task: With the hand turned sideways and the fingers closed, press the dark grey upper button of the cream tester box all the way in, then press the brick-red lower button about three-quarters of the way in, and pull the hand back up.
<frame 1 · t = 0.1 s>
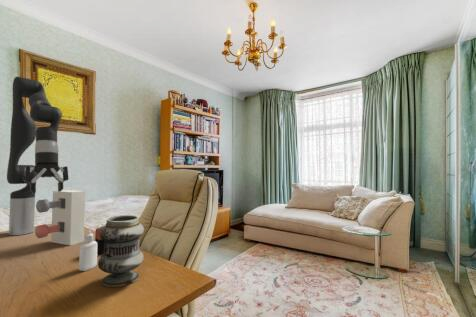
hand: (47, 192, 99), 22 cm above the table, tool pointing down, fingers open, 8 cm apart
apothecary jar: (121, 280, 72), on the table
tester box: (60, 243, 104), on the table
lower red button: (48, 229, 100), point 7 cm above the table, slide at 0.0 cm
upper grey button: (49, 205, 100), point 17 cm above the table, slide at 0.0 cm
eye dropper bottle: (88, 268, 80), on the table
battery: (106, 252, 95), on the table
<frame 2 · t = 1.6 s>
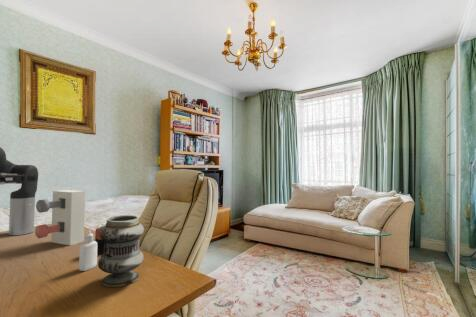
hand: (28, 178, 93), 28 cm above the table, tool horizontal, fingers open, 8 cm apart
nothing on the table moved.
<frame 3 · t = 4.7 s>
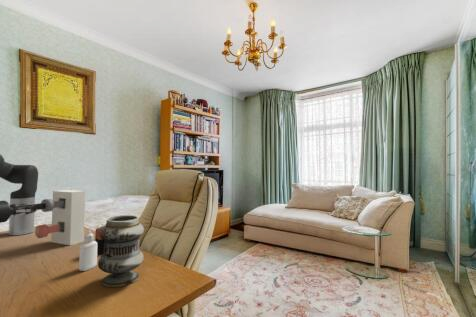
hand: (44, 205, 98), 17 cm above the table, tool horizontal, fingers closed
upper grey button: (53, 204, 102), point 17 cm above the table, slide at 1.6 cm, touching gripper
everything else where it was.
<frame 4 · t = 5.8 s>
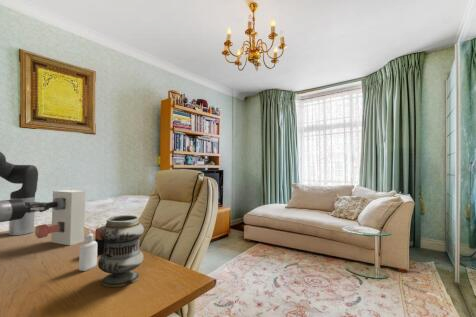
hand: (56, 204, 103), 17 cm above the table, tool horizontal, fingers closed
upper grey button: (64, 203, 106), point 17 cm above the table, slide at 6.1 cm, touching gripper
everything else where it was.
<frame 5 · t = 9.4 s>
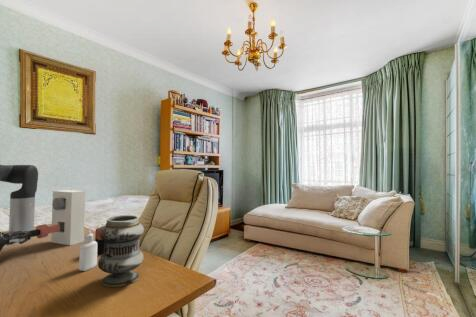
hand: (39, 231, 97), 7 cm above the table, tool horizontal, fingers closed
lower red button: (48, 229, 100), point 7 cm above the table, slide at 0.0 cm, touching gripper
upper grey button: (64, 203, 106), point 17 cm above the table, slide at 6.1 cm
everything else where it was.
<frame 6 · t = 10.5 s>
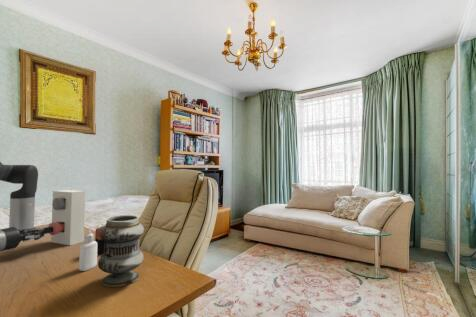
hand: (51, 229, 101), 7 cm above the table, tool horizontal, fingers closed
lower red button: (60, 227, 104), point 7 cm above the table, slide at 4.7 cm, touching gripper
everything else where it was.
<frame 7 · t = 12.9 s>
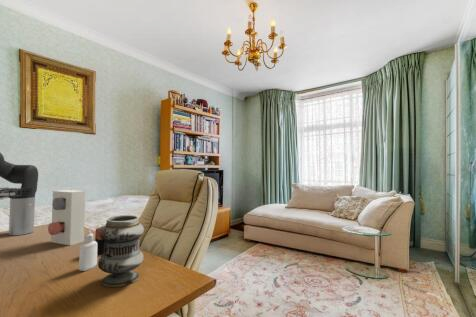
hand: (30, 190, 94), 23 cm above the table, tool horizontal, fingers closed
lower red button: (60, 227, 104), point 7 cm above the table, slide at 4.7 cm
everything else where it was.
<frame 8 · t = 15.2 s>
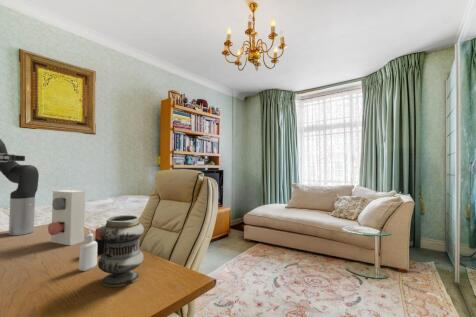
hand: (23, 158, 102), 36 cm above the table, tool horizontal, fingers closed
nothing on the table moved.
at the end: upper grey button slide at 6.1 cm; lower red button slide at 4.7 cm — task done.
